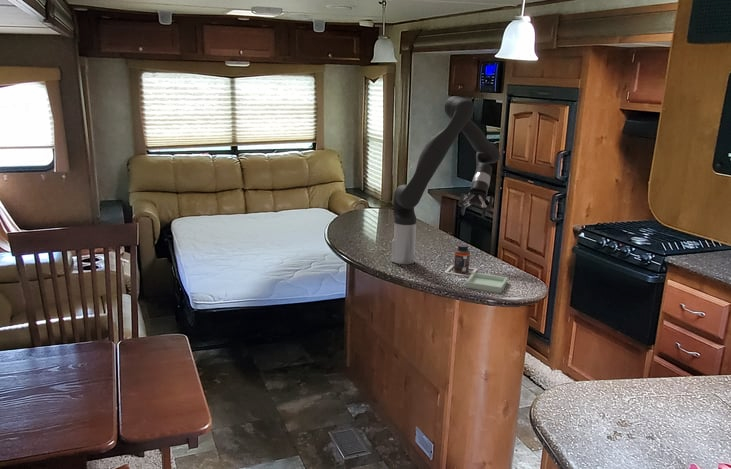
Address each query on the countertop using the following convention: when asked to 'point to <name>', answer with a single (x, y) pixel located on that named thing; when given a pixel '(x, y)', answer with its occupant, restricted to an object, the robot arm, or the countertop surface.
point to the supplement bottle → (462, 259)
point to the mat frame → (459, 274)
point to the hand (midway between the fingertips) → (472, 215)
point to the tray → (486, 282)
